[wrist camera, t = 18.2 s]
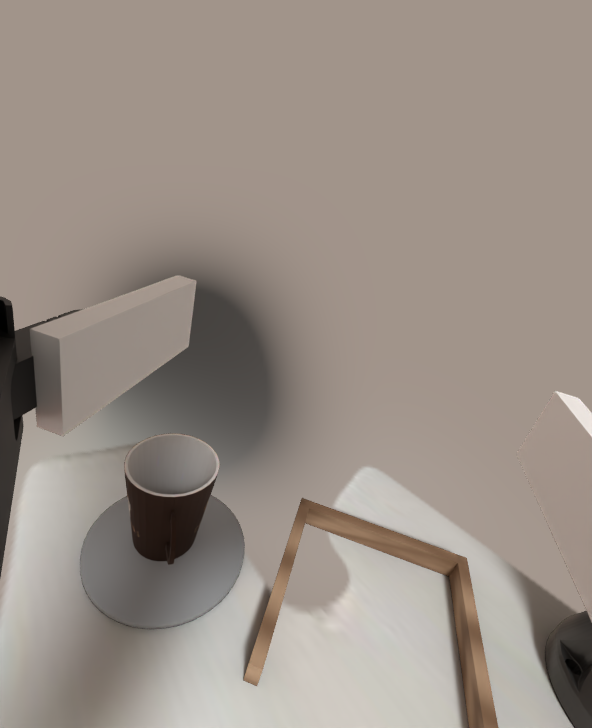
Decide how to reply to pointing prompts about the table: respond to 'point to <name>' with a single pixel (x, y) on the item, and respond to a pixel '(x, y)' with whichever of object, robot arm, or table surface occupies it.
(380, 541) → the brown wooden open frame
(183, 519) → the coffee mug
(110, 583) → the mat
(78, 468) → the table surface
